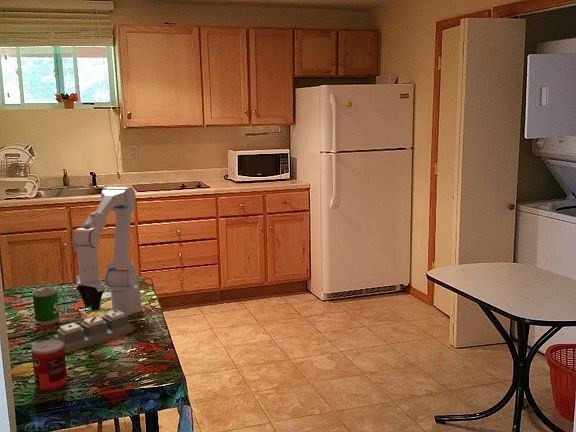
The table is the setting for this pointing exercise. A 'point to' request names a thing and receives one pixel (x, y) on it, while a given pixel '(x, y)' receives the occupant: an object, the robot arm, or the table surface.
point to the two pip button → (114, 315)
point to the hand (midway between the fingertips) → (92, 308)
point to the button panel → (94, 333)
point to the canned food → (49, 365)
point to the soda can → (45, 305)
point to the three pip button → (93, 321)
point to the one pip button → (70, 328)
